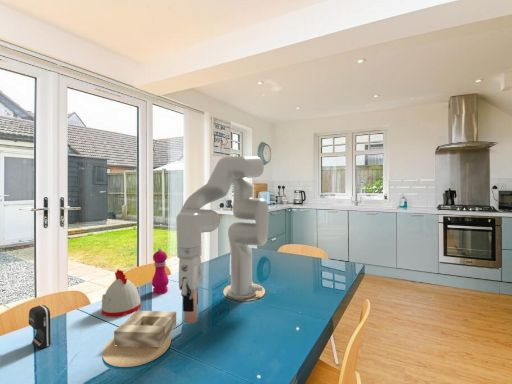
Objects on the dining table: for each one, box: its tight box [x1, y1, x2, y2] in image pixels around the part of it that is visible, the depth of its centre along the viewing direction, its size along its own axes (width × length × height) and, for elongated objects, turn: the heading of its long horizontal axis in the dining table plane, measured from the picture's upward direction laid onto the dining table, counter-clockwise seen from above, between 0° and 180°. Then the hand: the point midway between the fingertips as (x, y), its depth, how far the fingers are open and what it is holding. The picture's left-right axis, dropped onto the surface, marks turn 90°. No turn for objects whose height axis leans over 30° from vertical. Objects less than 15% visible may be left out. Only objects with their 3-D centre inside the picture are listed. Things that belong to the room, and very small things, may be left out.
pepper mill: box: [151, 247, 169, 295], centre depth 128 cm, size 7×7×20 cm
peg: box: [183, 287, 198, 325], centre depth 90 cm, size 4×4×12 cm
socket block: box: [113, 310, 177, 348], centre depth 91 cm, size 14×14×4 cm
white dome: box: [101, 269, 142, 318], centre depth 110 cm, size 14×14×15 cm
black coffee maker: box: [28, 304, 52, 349], centre depth 85 cm, size 7×4×11 cm, turn 54°
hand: (190, 307), depth 90 cm, fingers closed on peg, 4 cm apart
